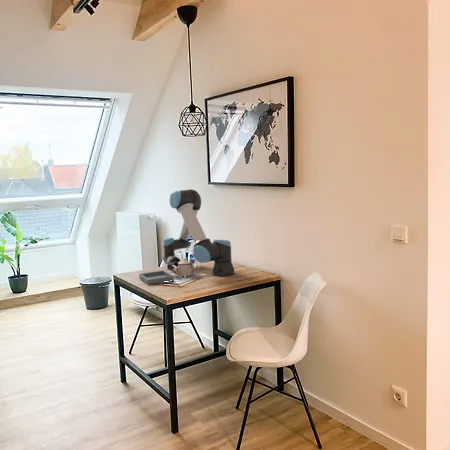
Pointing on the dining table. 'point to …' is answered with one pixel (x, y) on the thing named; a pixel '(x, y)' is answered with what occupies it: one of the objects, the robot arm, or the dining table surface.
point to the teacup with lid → (184, 268)
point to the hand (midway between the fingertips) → (184, 267)
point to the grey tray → (155, 277)
